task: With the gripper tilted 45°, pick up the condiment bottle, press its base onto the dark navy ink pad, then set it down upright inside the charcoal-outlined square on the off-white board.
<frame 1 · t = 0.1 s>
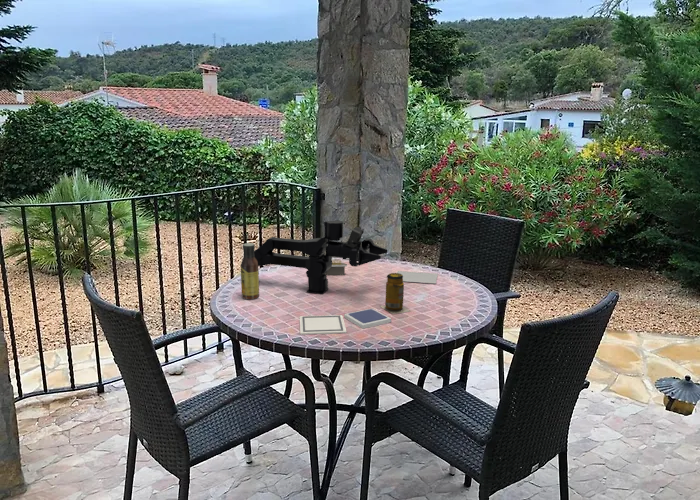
hand: (384, 254, 194), 17 cm above the table, tool horizontal, fingers open, 9 cm apart
sauce bottle: (250, 297, 198), on the table
marked board: (322, 325, 173), on the table
platform: (334, 276, 227), on the table
condiment: (394, 309, 188), on the table
ink pad: (367, 319, 178), on the table
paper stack: (404, 281, 220), on the table
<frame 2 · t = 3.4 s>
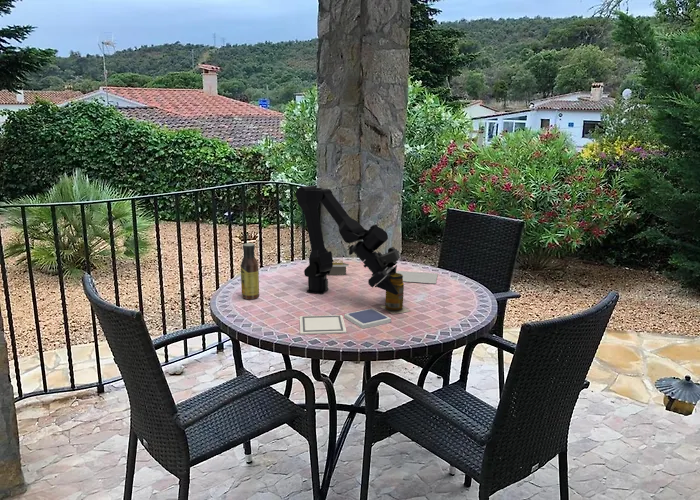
hand: (399, 290, 186), 7 cm above the table, tool tilted 45°, fingers open, 7 cm apart
condiment: (394, 309, 188), on the table, touching gripper
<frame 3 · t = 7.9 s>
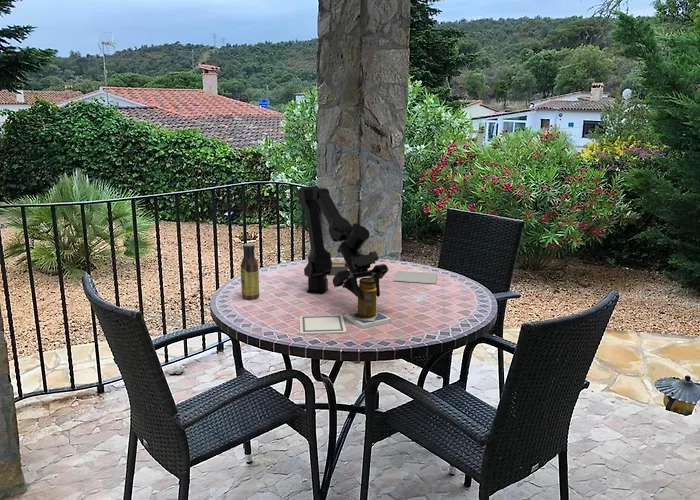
hand: (370, 298, 175), 8 cm above the table, tool tilted 45°, fingers closed on condiment, 6 cm apart
condiment: (365, 316, 178), point 1 cm above the table, touching gripper, ink pad
when the fingers open (8 cm above the table, at t = 12.0 s): condiment moves 1 cm, resting on marked board.
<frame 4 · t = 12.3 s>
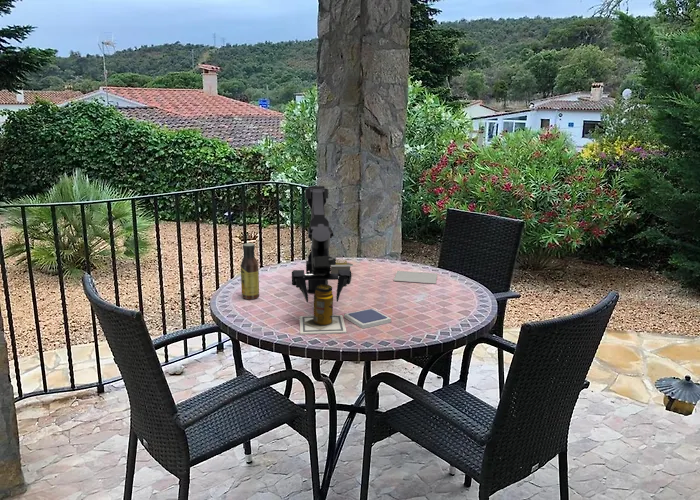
hand: (322, 301, 170), 8 cm above the table, tool tilted 45°, fingers open, 9 cm apart
condiment: (320, 323, 174), resting on marked board
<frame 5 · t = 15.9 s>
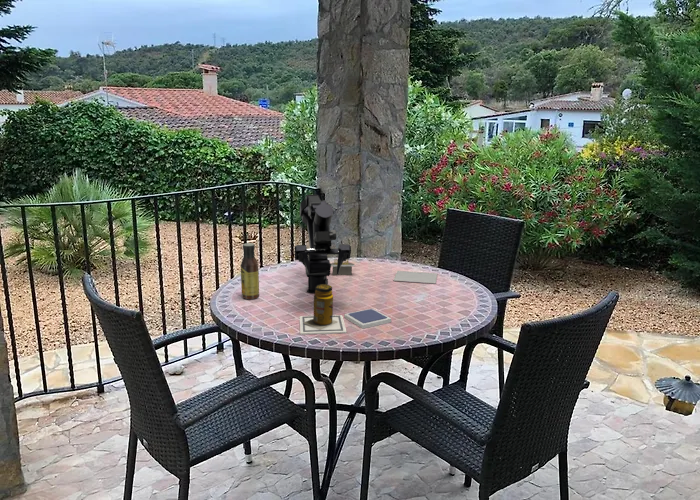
hand: (323, 274, 180), 14 cm above the table, tool tilted 45°, fingers open, 9 cm apart
at the end: condiment inside the target area on the marked board (0.6 cm from its centre), point 0.4 cm above the marked board's base; condiment tilted 2°; the gripper is holding nothing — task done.
